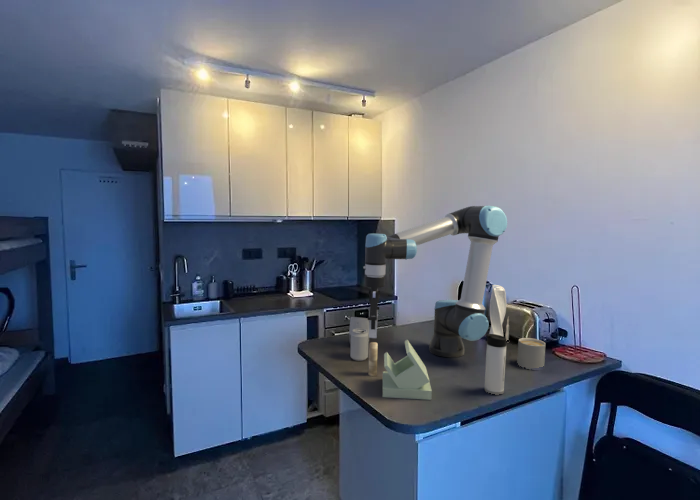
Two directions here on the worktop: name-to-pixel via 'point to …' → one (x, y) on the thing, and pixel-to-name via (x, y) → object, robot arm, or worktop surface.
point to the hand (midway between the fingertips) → (373, 332)
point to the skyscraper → (498, 311)
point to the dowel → (373, 358)
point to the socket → (406, 377)
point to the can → (359, 344)
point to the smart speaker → (358, 325)
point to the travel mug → (495, 364)
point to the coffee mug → (531, 353)
